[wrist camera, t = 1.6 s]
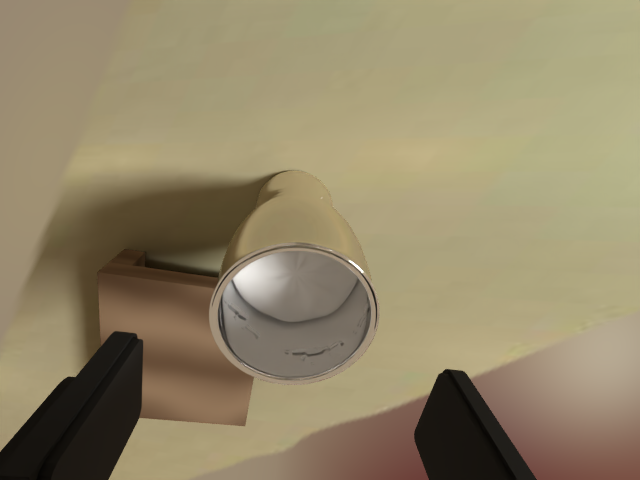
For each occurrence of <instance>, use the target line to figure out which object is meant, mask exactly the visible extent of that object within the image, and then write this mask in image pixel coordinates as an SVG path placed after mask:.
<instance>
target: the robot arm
mask: <svg viewBox="0 0 640 480" xmlns="http://www.w3.org/2000/svg"><path fill="white" fill-rule="evenodd" d="M142 375H143V340H142V339H138V337H137V334H136V333H129V332H120V331H114V332H113V333H112V334H111V335H110V336H109V337H108V338H107V340H106V341H105V342H104V343H103V345H102V346H101V347H100V348H99V349H98V351H97V352H96V353H95V354H94V356H93V357H92V358H91V359H90V360H89V362H88V363H87V364H86V365H85V366H84V368H83V369H82V370H81V371H80V373H79V374H78V375H77V376H76V377H67V378H65V379H64V380H63V381H62V382H60V383H59V384H58V386H57V387H56V388H55V389H54V390H53V391H52V393H51V394H50V395H49V396H48V397H47V398H46V400H45V401H44V402H43V403H42V404H41V405H40V406H39V408H38V409H37V410H36V411H35V412H34V413H33V415H32V416H31V417H30V418H29V419H28V420H27V422H26V423H25V424H24V425H23V426H22V427H21V428H20V430H19V431H18V432H17V433H16V434H15V435H14V437H13V438H12V439H11V440H10V441H9V442H8V444H7V445H6V446H5V447H4V448H3V449H2V450H1V452H0V480H108V479H109V477H110V475H111V473H112V471H113V469H114V467H115V465H116V463H117V461H118V459H119V457H120V455H121V453H122V451H123V449H124V447H125V445H126V443H127V441H128V439H129V437H130V435H131V433H132V431H133V429H134V427H135V425H136V423H137V421H138V419H139V416H140V413H141V409H142ZM414 438H415V443H416V446H417V449H418V451H419V454H420V457H421V459H422V462H423V464H424V467H425V470H426V473H427V475H428V478H429V480H537V479H536V478H535V476H534V475H533V473H532V472H531V470H530V469H529V467H528V466H527V464H526V463H525V461H524V460H523V458H522V457H521V455H520V454H519V452H518V451H517V449H516V448H515V446H514V445H513V443H512V442H511V440H510V439H509V437H508V436H507V434H506V433H505V431H504V430H503V428H502V427H501V425H500V424H499V422H498V421H497V419H496V418H495V416H494V415H493V413H492V412H491V410H490V409H489V407H488V406H487V404H486V403H485V401H484V400H483V398H482V397H481V395H480V394H479V392H478V391H477V389H476V388H475V386H474V385H473V383H472V382H471V380H470V379H469V377H468V376H467V374H466V373H465V372H463V371H459V370H450V369H445V370H444V371H443V373H440V374H439V375H438V377H437V379H436V382H435V384H434V386H433V389H432V391H431V393H430V396H429V398H428V400H427V403H426V405H425V408H424V410H423V412H422V415H421V417H420V419H419V422H418V424H417V427H416V429H415V433H414Z"/></svg>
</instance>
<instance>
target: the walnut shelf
mask: <svg viewBox="0 0 640 480" xmlns="http://www.w3.org/2000/svg"><path fill="white" fill-rule="evenodd" d="M97 275H98V297H99V319H100V340H101V346H102V345H103V343H104V342H105V341H106V340H107V338H108V337H109V336H110V335H111V334H112V333H113V332H114V331H120V332H129V333H136V334H137V337H138V339H142V340H143V375H142V409H141V413H140V416H139V418H149V419H162V420H174V421H187V422H199V423H212V424H224V425H237V426H245V424H246V418H247V413H248V407H249V401H250V395H251V390H252V384H253V378H254V377H252V376H250V375H248V374H246V373H245V372H243V371H241V370H240V369H238V368H237V367H236V366H234V365H233V364H232V363H231V362H230V361H229V360H228V359H227V358H226V357H225V356H224V355H223V353H222V352H221V351H220V349H219V348H218V346H217V344H216V343H215V341H214V338H213V336H212V333H211V329H210V324H209V307H210V301H211V297H212V294H213V292H214V289H215V287H216V284H217V279H218V278H216V277H209V276H202V275H195V274H188V273H181V272H174V271H167V270H160V269H153V268H146V267H145V252H141V251H134V250H127V249H124V250H123V251H122V252H121V253H119V254H118V255H117V256H116V257H115V258H114V259H112V260H111V261H110V262H109V263H108V264H107V265H105V266H104V267H103V268H102V269H101V270H99V271H98V272H97Z"/></svg>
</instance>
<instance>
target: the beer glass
mask: <svg viewBox="0 0 640 480" xmlns="http://www.w3.org/2000/svg"><path fill="white" fill-rule="evenodd" d="M378 323H379V301H378V296H377V293H376V290H375V288H374V286H373V283H372V279H371V275H370V271H369V268H368V265H367V261H366V258H365V255H364V253H363V250H362V248H361V245H360V243H359V241H358V239H357V237H356V235H355V233H354V232H353V230H352V228H351V227H350V225H349V223H348V222H347V221H346V220H345V219H344V217H343V216H342V215H341V214H340V213H339V212H338V211H337V210H336V209H335V208H334V207H333V203H332V198H331V195H330V193H329V191H328V189H327V187H326V186H325V185H324V184H323V182H322V181H321V180H319V179H318V178H317V177H315V176H313V175H311V174H309V173H306V172H302V171H286V172H282V173H279V174H277V175H275V176H274V177H272V178H271V179H270V180H268V181H267V182H266V183H265V185H264V186H263V187H262V189H261V191H260V193H259V195H258V199H257V206H256V208H255V209H253V210H252V211H251V213H250V214H249V215H248V216H247V217H246V218H245V219H244V220H243V221H242V223H241V224H240V225H239V227H238V229H237V230H236V232H235V234H234V236H233V237H232V239H231V241H230V243H229V245H228V248H227V251H226V253H225V256H224V258H223V261H222V265H221V268H220V272H219V275H218V279H217V284H216V287H215V289H214V292H213V294H212V297H211V301H210V307H209V324H210V329H211V333H212V336H213V338H214V341H215V343H216V344H217V346H218V348H219V349H220V351H221V352H222V353H223V355H224V356H225V357H226V358H227V359H228V360H229V361H230V362H231V363H232V364H233V365H234V366H236V367H237V368H238V369H240V370H241V371H243V372H245V373H246V374H248V375H250V376H252V377H255V378H257V379H260V380H263V381H267V382H271V383H276V384H284V385H301V384H309V383H314V382H318V381H322V380H325V379H328V378H330V377H332V376H335V375H337V374H339V373H341V372H342V371H344V370H345V369H347V368H348V367H350V366H351V365H352V364H354V363H355V362H356V361H357V360H358V359H359V358H360V357H361V356H362V355H363V354H364V353H365V351H366V350H367V348H368V347H369V345H370V344H371V342H372V340H373V338H374V336H375V333H376V331H377V327H378Z"/></svg>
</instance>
